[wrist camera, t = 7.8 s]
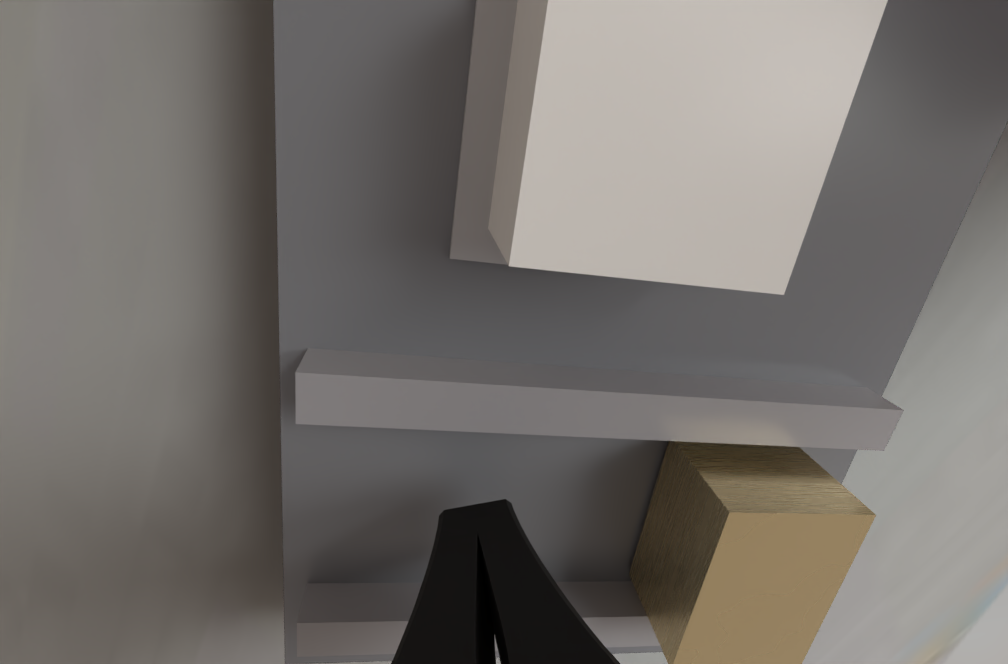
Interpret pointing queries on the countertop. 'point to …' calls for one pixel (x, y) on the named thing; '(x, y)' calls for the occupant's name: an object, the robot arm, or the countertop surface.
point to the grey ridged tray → (564, 311)
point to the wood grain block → (743, 552)
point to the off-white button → (673, 134)
